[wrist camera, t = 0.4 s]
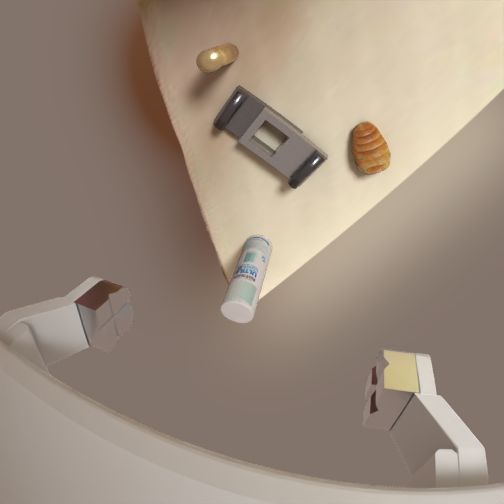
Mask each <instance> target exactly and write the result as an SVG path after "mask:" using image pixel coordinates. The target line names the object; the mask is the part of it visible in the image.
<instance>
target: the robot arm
mask: <svg viewBox="0 0 504 504" xmlns="http://www.w3.org/2000/svg"><path fill="white" fill-rule="evenodd" d="M130 299H131V296H130V291H129V289H127V288H126V287H124V286H121V285H118V284H115V283H112V282H109V281H107V280H103V279H100V278H97V277H90V278H89V279H87V280H86V281H85V282H84V283H82V284H81V285H79V286H78V287H77V288H75V289H74V290H73V291H72V292H70V293H69V294H68V295H66V296H65V297H64V298H62V297H59V298H55V299H51V300H48V301H44V302H40V303H37V304H33V305H30V306H26V307H22V308H19V309H15V310H11V311H8V312H6V313H5V314H4V315H2V316H1V317H0V504H504V483H498V484H489V481H488V471H487V463H486V456H485V449H484V447H483V446H482V445H481V443H480V442H479V441H478V440H477V438H476V437H475V436H474V435H473V434H472V432H471V431H470V430H469V429H468V427H467V426H466V425H465V424H464V423H463V421H462V420H461V419H460V418H459V417H458V415H457V414H456V413H455V412H454V411H453V409H452V408H451V407H450V406H449V405H448V404H447V402H446V401H445V400H444V399H443V398H442V397H441V396H437V395H436V387H435V381H434V375H433V369H432V364H431V358H430V356H429V355H428V354H420V353H409V352H403V351H396V350H390V349H384V348H381V350H380V351H379V353H378V356H377V360H376V361H377V364H376V366H375V367H374V368H372V370H371V372H370V375H369V378H368V381H367V384H366V390H365V399H366V400H367V402H368V403H367V405H366V407H365V409H364V416H363V427H364V428H370V429H376V430H383V431H390V432H389V434H390V436H391V438H392V439H393V441H394V443H395V445H396V447H397V449H398V451H399V453H400V455H401V457H402V459H403V461H404V463H405V465H406V466H407V469H408V470H409V473H410V474H411V477H410V478H409V479H408V480H407V481H406V482H405V483H404V484H403V485H402V486H400V487H389V486H376V485H365V484H356V483H347V482H340V481H333V480H326V479H321V478H315V477H309V476H304V475H299V474H294V473H289V472H284V471H280V470H276V469H272V468H268V467H264V466H260V465H256V464H252V463H249V462H245V461H241V460H238V459H235V458H231V457H228V456H225V455H222V454H218V453H215V452H212V451H209V450H206V449H203V448H200V447H198V446H195V445H192V444H190V443H187V442H184V441H182V440H179V439H176V438H174V437H171V436H169V435H166V434H163V433H161V432H159V431H156V430H154V429H152V428H150V427H147V426H145V425H143V424H140V423H138V422H136V421H134V420H132V419H130V418H127V417H125V416H123V415H121V414H119V413H117V412H115V411H113V410H111V409H109V408H107V407H105V406H103V405H101V404H99V403H97V402H96V401H94V400H92V399H90V398H88V397H86V396H84V395H83V394H81V393H79V392H78V391H76V390H74V389H72V388H71V387H69V386H67V385H66V384H64V383H62V382H61V381H59V380H57V379H56V378H54V377H52V376H51V375H50V373H49V371H48V369H47V366H49V365H51V364H53V363H55V362H57V361H60V360H62V359H64V358H66V357H68V356H70V355H72V354H75V353H77V352H79V351H81V350H83V349H85V348H88V347H89V346H91V347H93V348H96V349H98V350H100V351H103V352H105V353H108V352H109V351H110V350H111V349H112V348H113V347H114V346H115V345H116V344H117V343H118V336H121V335H124V334H126V333H127V332H128V331H129V329H130V328H131V325H132V323H133V319H134V313H133V308H132V307H131V305H130V304H129V300H130Z"/></svg>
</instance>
